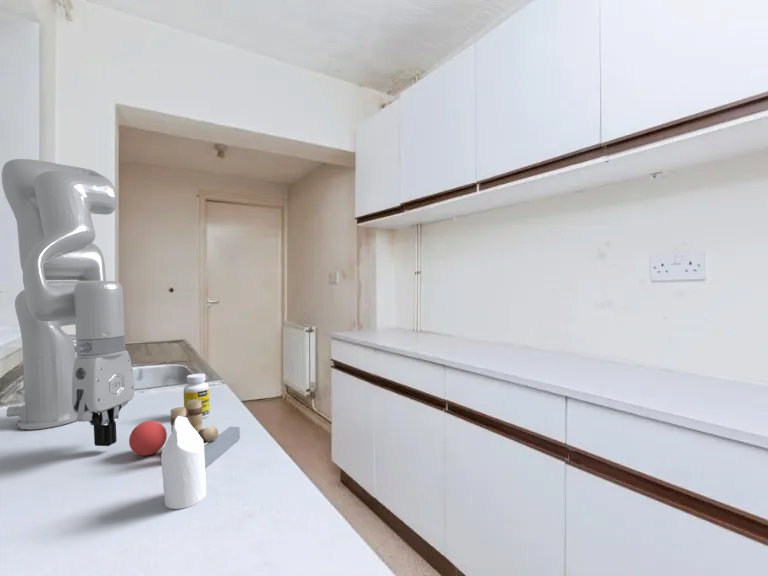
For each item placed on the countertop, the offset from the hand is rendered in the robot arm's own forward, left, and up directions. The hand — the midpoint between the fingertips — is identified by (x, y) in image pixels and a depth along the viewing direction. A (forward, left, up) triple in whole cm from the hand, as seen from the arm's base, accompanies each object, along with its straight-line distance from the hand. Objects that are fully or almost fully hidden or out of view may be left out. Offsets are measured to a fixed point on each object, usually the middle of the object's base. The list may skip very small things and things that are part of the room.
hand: (105, 444), depth 77 cm
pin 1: (+15, -8, -2) cm, 17 cm away
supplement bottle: (+13, +17, -2) cm, 21 cm away
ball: (+8, -4, +2) cm, 9 cm away
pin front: (+12, -4, 0) cm, 13 cm away
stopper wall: (+21, -7, -2) cm, 22 cm away
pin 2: (+16, -3, -2) cm, 17 cm away
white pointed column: (+19, -22, -2) cm, 29 cm away
